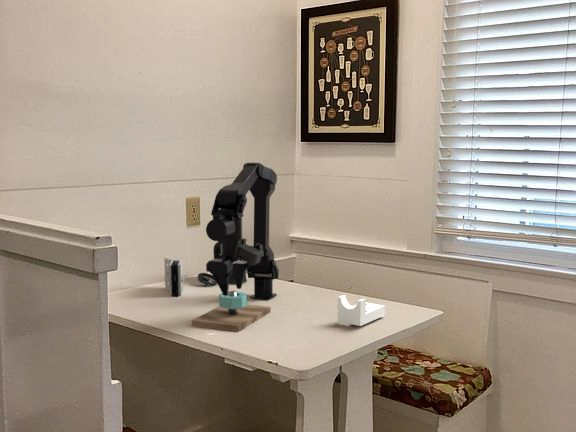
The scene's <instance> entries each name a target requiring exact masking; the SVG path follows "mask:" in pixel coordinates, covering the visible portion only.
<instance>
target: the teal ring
mask: <svg viewBox="0 0 576 432" xmlns="http://www.w3.org/2000/svg"><path fill="white" fill-rule="evenodd" d="M247 297H248V296H247V294H246V293H245V292H243V291H237V296H233V297H231V296H228V295H227V296H225V295H223V293H222V292H221V293H220V294H218V307H219V306H220V307H221V308H227V309H237V308H243V307H245V306H246V305H247V304H248V303H247Z"/></svg>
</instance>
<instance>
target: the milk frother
mask: <svg viewBox="0 0 576 432" xmlns="http://www.w3.org/2000/svg"><path fill="white" fill-rule="evenodd" d="M245 240H246V242H247V240H248V239H247V238H245ZM220 254H221V244H218V241H216V242H215V244H214V245H213V259H218V255H220ZM197 280H198V282H200V284H203V285H204V286H216V285H218V284H217V282H216V280H215V278H214V277H213V275H212V274H211V273H209V272H199V273H198V274H197ZM211 280H213V281H211ZM247 281H248V279H247V272H246V273H245V276H244V280H243V283H242V284H244V283H246V282H247ZM229 285H236V284H235V280H234V276H233V273H232V275H231V276H230V277H229Z"/></svg>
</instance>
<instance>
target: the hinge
mask: <svg viewBox="0 0 576 432" xmlns="http://www.w3.org/2000/svg"><path fill="white" fill-rule="evenodd" d="M183 271H184V269H183V260H182V259H181V258H174V259H173V258H168V257H164V288H165V289H168V290H169V297H171V298H175V296H176V298H178V297H182V295H183V290H184V272H183Z"/></svg>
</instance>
